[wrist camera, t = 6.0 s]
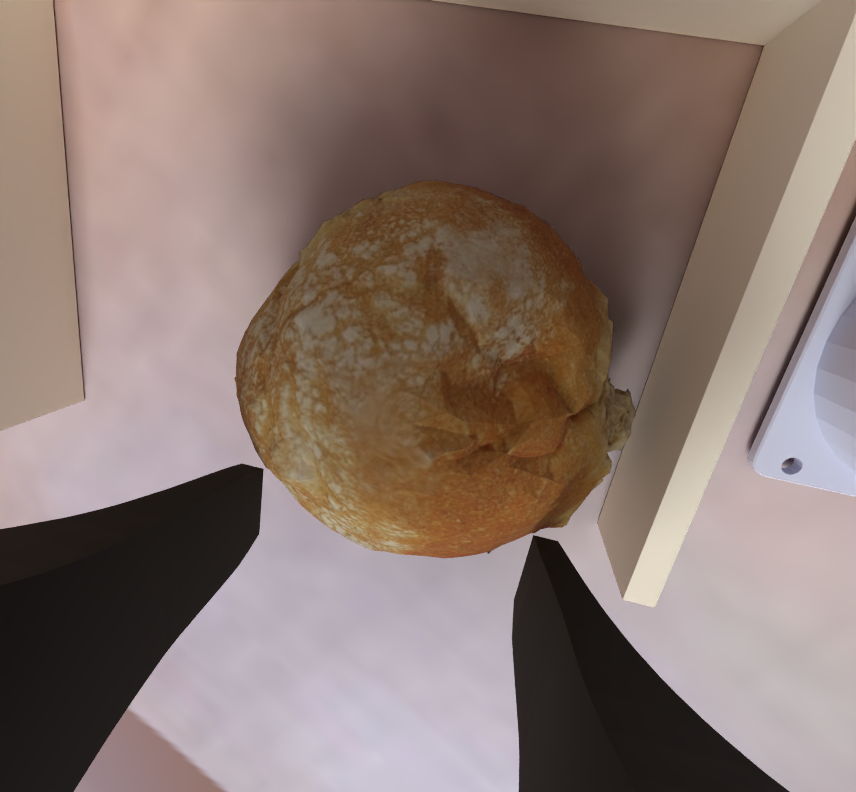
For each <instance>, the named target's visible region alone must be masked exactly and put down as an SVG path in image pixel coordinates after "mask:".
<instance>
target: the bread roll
mask: <svg viewBox="0 0 856 792" xmlns="http://www.w3.org/2000/svg"><path fill="white" fill-rule="evenodd" d="M612 333H613V321H611V320H609V318H608V299H607V298H606V297H605V295H604V294H603V293H602V292H601V291H600V290H599V289H598V288H597V286H596V285H595V284H594V283H593V282H591V281H590V280H589V279H588V278H587V277H586V276H585V274H584V273H583V271H582V269H581V263H580V261H579V260H578V259H577V258H576V257H575V255H574V254H573V252H572V251H571V250H570V248H569V247H568V246H567V245H566V244H565V242H564V241H563V240H562V239H561V237H560V236H559V235H558V234H557V233H556V232H555V231H554V230H553V229H552V228H551V227H550V226H549V225H548V224H547V223H546V222H545V221H543V220H542V219H540V218H538V217H537V216H535V215H534V214H533V213H531V212H530V211H529V210H528V209H526V208H525V207H524V206H523V205H519V204H513V203H511V202H509V201H507V200H504V199H502V198H500V197H497V196H495V195H492V194H490V193H488V192H485V191H483V190H480V189H478V188H474V187H469V186H465V185H459V184H453V183H447V182H442V181H419V182H416V183H413V184H410V185H407V186H404V187H402V188H400V189H398V190H396V191H393V190H389V191H387V192H384V193H382V194H380V195H379V196H378V197H377V198H373V199H363V200H362V201H361V202H360V203H356V204H355V205H353V206H352V207H350V208H348V209H347V210H345V211H343V213H342V214H339V215H336V216H335V217H333V218H332V219H330V220H327V221H324V222H323V224H322V225H321V227H320V229H319V230H318V232H317V233H316V235H315V236H314V238H313V239H312V240H311V241H310V243H309V244H308V245H307V247H306V248H304V249H303V250H301V251H300V253H299V261H298V262H297V263H295V264H294V265H293V266H292V267H291V268H290V269H289V270H288V272H287V273H286V274H285V275H284V276H283V278H282V279H281V280H280V281H279V283H278V284H277V286H276V287H275V289H274V290H273V292H272V293H271V294H270V296H269V297H268V298H267V300H266V301H265V302H264V304H263V305H262V306H261V308H260V309H259V310H258V312H257V313H256V315H255V316H254V317H253V319H252V320H251V322H250V324H249V326H248V328H247V330H246V331H245V334H244V336H243V338H242V341H241V343H240V346H239V349H238V351H237V363H236V377H235V381H236V387H237V398H238V401H239V405H240V411H241V415H242V419H243V422H244V424H245V427H246V429H247V431H248V433H249V435H250V438H251V440H252V443H253V445H254V448H255V450H256V452H257V454H258V455H259V457H260V458H261V460H262V462H263V463H264V465H265V467H266V468H268V469H270V470H271V472H272V473H273V474H274V475H275V476H276V477H277V478H278V479H279V480H280V481H282V483H283V484H284V485H285V486H286V488H287V489H288V490H289V491H290V492H291V494H292V495H293V496H294V498H295V499H296V500H297V501H298V502H299V503H300V504H301V505H302V506H303V507H304V508H305V509H306V510H307V511H308V512H310V513H311V514H312V515H313V516H314V517H316V518H317V519H318V520H320V521H321V522H322V523H324V524H325V525H326V526H327V527H329V528H330V529H331V530H334V531H336V532H338V533H340V534H342V535H343V536H344V537H346V538H347V539H349V540H351V541H353V542H355V543H357V544H359V545H361V546H363V547H365V548H368V549H372V550H375V551H387V552H391V553H396V554H404V555H418V556H430V557H438V558H453V557H462V556H470V555H476V554H481V553H484V552H487V553H488V554H489V553H490V552H491V551H492V550H494V549H495V548H497V547H499V546H501V545H503V544H506V543H509V542H511V541H514V540H516V539H519V538H521V537H523V536H525V535H527V534H530V533H535V532H537V531H539V530H540V529H544V528H548V527H550V528H555V527H563V526H565V525H567V523H568V521H569V519H570V517H571V516H572V514H573V513H574V512H575V511H576V510H577V509H578V507H579V506H580V505H581V503H582V502H583V501H584V500H585V498H586V497H587V496H588V495H589V493H590V492H591V491H592V490H593V489H594V488H595V487H596V486H598V485H599V484H600V483H601V482H602V481H603V479H602V478H603V477H605V476H606V475H607V474H609V473H610V470H611V466H612V461H611V459H610V458H609V456H608V453H607V452H609V451H613V450H621V449H622V448H623V446H624V445H625V443H626V441H627V440H628V438H629V437H630V435H631V427H632V423H633V420H634V418H635V416H636V412H635V408H634V405H633V403H632V398H631V393H630V391H629V390H628V389H627V391H626V392H624V391H622V390H619V389H616V390H615V389H614V386H613V385H612V384H611V383H610V379H608V371H609V366H610V362H611V350H612Z"/></svg>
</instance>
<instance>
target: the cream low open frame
mask: <svg viewBox="0 0 856 792" xmlns="http://www.w3.org/2000/svg"><path fill="white" fill-rule="evenodd" d="M433 1H440V2H447V3H455V4H462V5H469V6H477V7H484V8H491V9H499V10H506V11H513V12H521V13H528V14H536V15H543V16H550V17H558V18H565V19H572V20H580V21H587V22H594V23H602V24H609V25H616V26H624V27H631V28H638V29H646V30H653V31H660V32H668V33H675V34H682V35H690V36H697V37H704V38H712V39H719V40H726V41H734V42H741V43H748V44H756V45H763V46H764V48H763V51H762V54H761V57H760V60H759V63H758V65H757V68H756V71H755V74H754V77H753V80H752V83H751V85H750V88H749V91H748V94H747V97H746V100H745V103H744V105H743V108H742V111H741V114H740V117H739V120H738V123H737V125H736V128H735V131H734V134H733V137H732V140H731V143H730V145H729V148H728V151H727V154H726V157H725V160H724V163H723V165H722V168H721V171H720V174H719V177H718V180H717V183H716V185H715V188H714V191H713V194H712V197H711V200H710V203H709V205H708V208H707V211H706V214H705V217H704V220H703V223H702V225H701V228H700V231H699V234H698V237H697V240H696V243H695V245H694V248H693V251H692V254H691V257H690V260H689V262H688V265H687V268H686V271H685V274H684V277H683V280H682V282H681V285H680V288H679V291H678V294H677V297H676V300H675V302H674V305H673V308H672V311H671V314H670V317H669V320H668V322H667V325H666V328H665V331H664V334H663V337H662V340H661V342H660V345H659V348H658V351H657V354H656V357H655V360H654V362H653V365H652V368H651V371H650V374H649V377H648V380H647V382H646V385H645V388H644V391H643V394H642V397H641V400H640V402H639V405H638V408H637V411H636V416H635V418H634V420H633V423H632V427H631V435H630V437H629V438H628V440H627V441H626V443H625V445H624V448H623V451H622V454H621V457H620V460H619V462H618V465H617V468H616V471H615V474H614V477H613V480H612V482H611V485H610V488H609V491H608V494H607V497H606V500H605V502H604V505H603V508H602V511H601V514H600V517H599V520H598V522H597V524H598V527H599V530H600V533H601V536H602V539H603V542H604V545H605V548H606V551H607V554H608V557H609V560H610V563H611V566H612V569H613V572H614V575H615V578H616V581H617V584H618V587H619V590H620V593H621V596H622V599H623V600H626V601H630V602H634V603H638V604H642V605H646V606H650V607H654V608H655V605H656V603H657V601H658V598H659V596H660V594H661V591H662V589H663V587H664V584H665V582H666V580H667V577H668V575H669V573H670V570H671V568H672V566H673V563H674V561H675V559H676V556H677V554H678V552H679V549H680V547H681V545H682V542H683V540H684V538H685V535H686V533H687V531H688V528H689V526H690V524H691V522H692V519H693V517H694V515H695V512H696V510H697V508H698V505H699V503H700V501H701V498H702V496H703V494H704V491H705V489H706V487H707V484H708V482H709V480H710V477H711V475H712V473H713V470H714V468H715V466H716V463H717V461H718V459H719V456H720V454H721V452H722V449H723V447H724V445H725V442H726V440H727V438H728V435H729V433H730V431H731V428H732V426H733V424H734V421H735V419H736V417H737V414H738V412H739V410H740V407H741V405H742V403H743V400H744V398H745V396H746V393H747V391H748V389H749V387H750V384H751V382H752V380H753V377H754V375H755V373H756V370H757V368H758V366H759V363H760V361H761V359H762V356H763V354H764V352H765V349H766V347H767V345H768V342H769V340H770V338H771V335H772V333H773V331H774V328H775V326H776V324H777V321H778V319H779V317H780V314H781V312H782V310H783V307H784V305H785V303H786V300H787V298H788V296H789V293H790V291H791V289H792V286H793V284H794V282H795V279H796V277H797V275H798V272H799V270H800V268H801V265H802V263H803V261H804V258H805V256H806V254H807V252H808V249H809V247H810V245H811V242H812V240H813V238H814V235H815V233H816V231H817V228H818V226H819V224H820V221H821V219H822V217H823V214H824V212H825V210H826V207H827V205H828V203H829V200H830V198H831V196H832V193H833V191H834V189H835V186H836V184H837V182H838V179H839V177H840V175H841V172H842V170H843V168H844V165H845V163H846V161H847V158H848V156H849V154H850V151H851V149H852V147H853V144H854V142H855V140H856V0H433ZM81 401H84V391H83V378H82V366H81V353H80V340H79V327H78V314H77V302H76V289H75V276H74V263H73V250H72V238H71V225H70V212H69V199H68V186H67V173H66V161H65V148H64V135H63V122H62V109H61V97H60V84H59V71H58V58H57V45H56V33H55V20H54V7H53V0H0V431H1V430H4V429H6V428H9V427H12V426H15V425H17V424H20V423H23V422H26V421H29V420H31V419H34V418H37V417H40V416H42V415H45V414H48V413H51V412H53V411H56V410H59V409H62V408H64V407H67V406H70V405H73V404H76V403H78V402H81Z"/></svg>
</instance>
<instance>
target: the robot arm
mask: <svg viewBox="0 0 856 792" xmlns="http://www.w3.org/2000/svg"><path fill="white" fill-rule="evenodd" d="M789 458H794V462H793V463H792V465H791V466H789V467H787V468H781V466H782V463H783V462H784V461H785V460H786V459H789ZM748 462H749V465H750V466H751V467H752V468H753V469H754V470H755V471H756V472H757V473H758V474H760V475H762V476H765V477H769V478H773V479H778V480H782V481H787V482H791V483H796V484H800V485H805V486H809V487H814V488H818V489H823V490H827V491H832V492H836V493H841V494H845V495H850V496H854V497H856V217H855V219H854V221H853V224H852V226H851V228H850V230H849V233H848V235H847V237H846V239H845V241H844V244H843V246H842V248H841V250H840V252H839V255H838V257H837V259H836V261H835V263H834V266H833V268H832V270H831V272H830V275H829V277H828V279H827V281H826V283H825V286H824V288H823V290H822V292H821V294H820V297H819V299H818V301H817V303H816V306H815V308H814V310H813V312H812V314H811V317H810V319H809V321H808V323H807V325H806V328H805V330H804V332H803V334H802V336H801V339H800V341H799V343H798V345H797V348H796V350H795V352H794V354H793V356H792V359H791V361H790V363H789V365H788V367H787V370H786V372H785V374H784V376H783V379H782V381H781V383H780V385H779V387H778V390H777V392H776V394H775V396H774V398H773V401H772V403H771V405H770V407H769V409H768V412H767V414H766V416H765V418H764V421H763V423H762V425H761V427H760V429H759V432H758V434H757V436H756V438H755V440H754V443H753V445H752V447H751V449H750V452H749V455H748ZM262 483H263V469H261V468H257V467H253V466H249V465H245V464H239V465H235V466H232V467H229V468H226V469H223V470H220V471H217V472H214V473H211V474H208V475H206V476H203V477H200V478H197V479H195V480H192V481H189V482H186V483H183V484H180V485H178V486H175V487H172V488H169V489H166V490H163V491H160V492H157V493H154V494H151V495H147V496H144V497H141V498H138V499H135V500H132V501H128V502H125V503H122V504H118V505H115V506H111V507H107V508H104V509H100V510H96V511H92V512H87V513H83V514H79V515H75V516H70V517H66V518H61V519H56V520H50V521H45V522H39V523H34V524H28V525H23V526H17V527H12V528H5V529H0V792H74V790H75V788H76V787H77V785H78V783H79V782H80V780H81V779H82V777H83V776H84V774H85V773H86V771H87V769H88V768H89V766H90V765H91V763H92V761H93V760H94V758H95V757H96V755H97V753H98V752H99V750H100V749H101V747H102V746H103V744H104V743H105V741H106V739H107V738H108V736H109V735H110V733H111V732H112V730H113V729H114V727H115V726H116V724H117V723H118V721H119V720H120V718H121V717H122V715H123V714H124V712H125V711H126V709H127V708H128V706H129V705H130V703H131V702H132V700H133V699H134V697H135V696H136V694H137V693H138V692H139V690H140V689H141V687H142V686H143V684H144V683H145V682H146V680H147V679H148V677H149V676H150V674H151V673H152V672H153V670H154V669H155V667H156V666H157V664H158V663H159V662H160V660H161V659H162V657H163V656H164V655H165V653H166V652H167V651H168V649H169V648H170V647H171V646H172V644H173V643H174V642H175V641H176V639H177V638H178V637H179V636H180V634H181V633H182V632H183V631H184V630H185V628H186V627H187V626H188V625H189V624H190V623H191V621H192V620H193V619H194V618H195V617H196V616H197V614H198V613H199V612H200V611H201V610H202V609H203V607H204V606H205V605H206V604H207V603H208V602H209V600H210V599H211V598H212V597H213V596H214V594H215V593H216V592H217V591H218V590H219V589H220V587H221V586H222V585H223V584H224V583H225V581H226V580H227V579H228V578H229V577H230V575H231V574H232V573H233V572H234V571H235V569H236V568H237V567H238V566H239V564H240V563H241V561H242V560H243V558H244V557H245V555H246V554H247V552H248V551H249V549H250V548H251V546H252V544H253V543H254V541H255V539H256V538H257V536H258V535H259V529H260V514H261V498H262ZM512 645H513V661H514V675H515V689H516V703H517V717H518V731H519V757H520V758H519V792H789V791H788V790H787V789H785V788H784V787H783V786H781V785H780V784H779V783H777V782H776V781H775V780H774V779H772V778H771V777H770V776H768V775H767V774H766V773H765V772H763V771H762V770H761V769H760V768H758V767H757V766H756V765H755V764H754V763H753V762H751V761H750V760H749V759H748V758H747V757H745V756H744V755H743V754H742V753H741V752H740V751H738V750H737V749H736V748H735V747H734V746H732V745H731V744H730V743H729V742H728V741H727V740H725V739H724V738H723V737H722V736H721V735H720V734H719V733H718V732H716V731H715V730H714V729H713V728H712V727H711V726H710V725H709V724H708V723H706V722H705V721H704V720H703V719H702V718H701V717H700V716H699V715H698V714H697V713H696V712H695V711H694V710H693V709H692V708H691V707H690V706H689V705H688V704H686V703H685V702H684V701H683V700H682V699H681V698H680V697H679V696H678V695H677V694H676V693H675V692H674V691H673V690H672V689H671V688H670V687H669V686H668V685H667V684H666V683H665V682H664V681H663V680H662V679H661V678H660V677H659V675H658V674H657V673H656V672H655V671H654V670H653V669H652V668H651V667H650V666H649V664H648V663H647V662H646V661H645V660H644V659H643V658H642V657H641V656H640V654H639V653H638V652H637V651H636V650H635V649H634V648H633V646H632V645H631V644H630V643H629V642H628V640H627V639H626V638H625V637H624V636H623V634H622V633H621V632H620V630H619V629H618V628H617V627H616V625H615V624H614V623H613V621H612V620H611V619H610V618H609V616H608V615H607V614H606V612H605V611H604V610H603V608H602V607H601V606H600V604H599V603H598V601H597V600H596V599H595V597H594V596H593V594H592V593H591V591H590V590H589V588H588V587H587V585H586V584H585V583H584V581H583V580H582V578H581V576H580V575H579V573H578V572H577V570H576V569H575V567H574V566H573V564H572V563H571V561H570V559H569V558H568V556H567V555H566V553H565V552H564V550H563V548H562V547H561V545H560V544H559V542H558V541H555V540H550V539H546V538H542V537H538V536H534V535H533V538H532V542H531V545H530V548H529V552H528V555H527V558H526V562H525V565H524V568H523V572H522V575H521V578H520V582H519V585H518V588H517V592H516V595H515V598H514V610H513V629H512Z"/></svg>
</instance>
